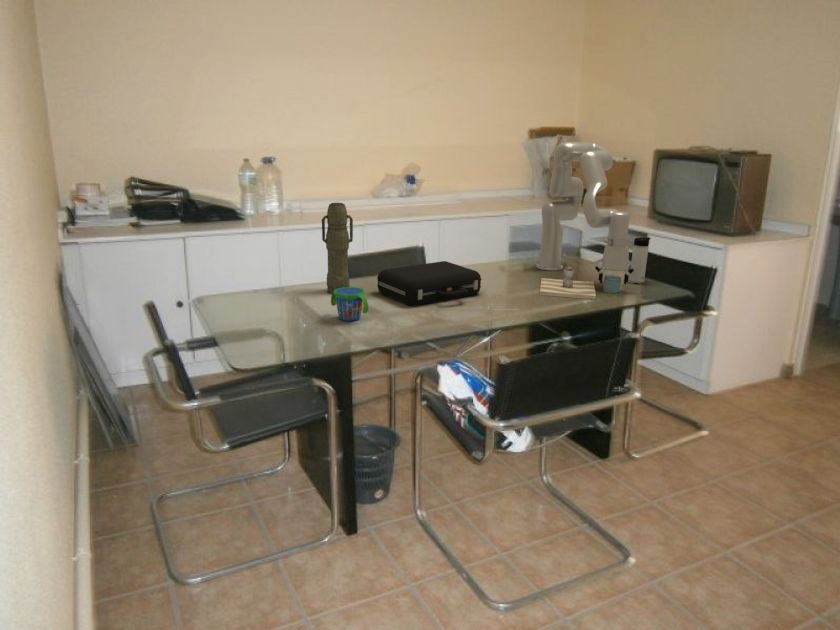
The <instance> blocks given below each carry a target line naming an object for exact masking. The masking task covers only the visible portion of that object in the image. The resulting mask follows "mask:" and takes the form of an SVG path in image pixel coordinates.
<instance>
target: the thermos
mask: <svg viewBox="0 0 840 630" xmlns="http://www.w3.org/2000/svg"><path fill="white" fill-rule="evenodd" d="M347 210H348V209H347V207H346V204H344V203H343V202H332V203H329V204H328V207H327V212H326V215H324V216H323V217H322V218H321V238H322V239H321V240H322V241H323V242H324V243H325V245H326V246H325V247H326V251H327V274H326V286H327V290H326V291H327V293H328V294H331V295H332V293H333V291H334V290H336V289H338V288H342V287H350V275H349V255H348V254H349V251H348V250H349V248H350V243H352V242H353V240H354V239H353V238H354V233H353V232H354V231H353V230H354V228H353V227H354V224H353V223H354V221H353V217H352V216H351V215H349V214H348V211H347ZM348 219H349V231H348V227H347V225H348ZM326 220H327V221H326ZM325 221H326V222H325ZM326 223H327V228H326V225H325V224H326ZM326 229H327V231H326Z"/></svg>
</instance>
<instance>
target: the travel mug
mask: <svg viewBox="0 0 840 630" xmlns="http://www.w3.org/2000/svg"><path fill="white" fill-rule="evenodd" d="M650 240H651V237H650V236H648V237H646V236H644V237H641V236H640V237H635V238H634V240H633V248H632V254H631V260H630V261H631V262H633V263H635V264H636V265H637V267H636V268H635V270H634V271H633V272H632V273H631V274H630V275H629V277H628V282H629V281H630V282H632V283H631V284H633V283H643V284H645V277H646V276H645V275H646V270H647V261H648V254H649V247H650V246H649V244H650ZM631 268H632V265H630V269H631ZM630 282H629V283H630Z"/></svg>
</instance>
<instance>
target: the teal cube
mask: <svg viewBox="0 0 840 630" xmlns="http://www.w3.org/2000/svg"><path fill="white" fill-rule="evenodd" d="M621 282H622V277H621V276H619V275H613V274H607V275H604V277H603V287H602V290H603V292H604V293H607V292H608V293H607V294H618V293H617V292H619V293H620V291H621V284H622V283H621Z"/></svg>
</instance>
